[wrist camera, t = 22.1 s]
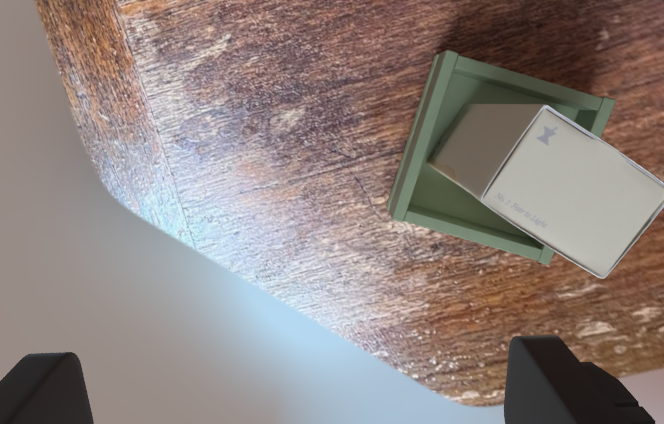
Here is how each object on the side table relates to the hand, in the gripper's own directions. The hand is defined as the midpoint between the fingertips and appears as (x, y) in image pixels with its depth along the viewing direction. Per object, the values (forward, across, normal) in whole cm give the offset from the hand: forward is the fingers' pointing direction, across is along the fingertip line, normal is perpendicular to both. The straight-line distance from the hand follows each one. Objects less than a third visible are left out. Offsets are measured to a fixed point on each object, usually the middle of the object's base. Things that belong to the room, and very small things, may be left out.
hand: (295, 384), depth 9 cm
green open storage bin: (+23, -11, +1) cm, 25 cm away
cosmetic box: (+22, -10, +1) cm, 24 cm away
